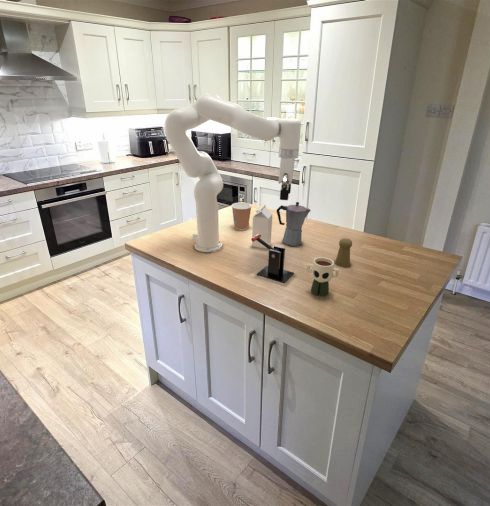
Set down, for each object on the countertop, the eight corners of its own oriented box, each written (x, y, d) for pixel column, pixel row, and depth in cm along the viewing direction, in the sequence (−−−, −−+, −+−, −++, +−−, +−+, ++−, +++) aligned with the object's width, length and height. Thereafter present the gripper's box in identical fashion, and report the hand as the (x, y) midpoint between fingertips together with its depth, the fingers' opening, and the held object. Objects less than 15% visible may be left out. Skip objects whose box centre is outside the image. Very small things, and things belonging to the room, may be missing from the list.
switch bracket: (256, 277, 135) (257, 249, 130) (267, 267, 142) (268, 241, 137) (284, 285, 129) (286, 257, 124) (294, 275, 136) (296, 248, 131)
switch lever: (250, 241, 133) (252, 236, 131) (256, 236, 136) (259, 232, 135) (275, 260, 130) (278, 255, 128) (281, 255, 134) (284, 250, 132)
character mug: (302, 295, 123) (305, 263, 118) (306, 286, 129) (309, 254, 124) (333, 302, 120) (338, 269, 114) (336, 292, 126) (341, 260, 120)
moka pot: (308, 247, 160) (313, 205, 152) (275, 246, 161) (277, 205, 152) (305, 239, 169) (309, 199, 160) (274, 238, 169) (276, 198, 161)
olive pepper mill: (341, 268, 142) (345, 243, 138) (332, 261, 147) (335, 238, 143) (353, 265, 145) (357, 240, 140) (342, 259, 150) (346, 235, 145)
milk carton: (270, 244, 163) (273, 205, 155) (266, 250, 157) (268, 210, 149) (256, 242, 165) (257, 203, 157) (251, 247, 159) (252, 208, 151)
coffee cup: (233, 223, 187) (233, 201, 182) (252, 224, 186) (252, 202, 180) (229, 230, 178) (229, 207, 173) (249, 231, 177) (250, 209, 171)
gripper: (281, 149, 142) (278, 190, 150) (275, 156, 127) (273, 201, 134) (299, 150, 141) (296, 191, 148) (296, 157, 126) (292, 203, 133)
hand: (285, 196), depth 141 cm, fingers open, 9 cm apart
